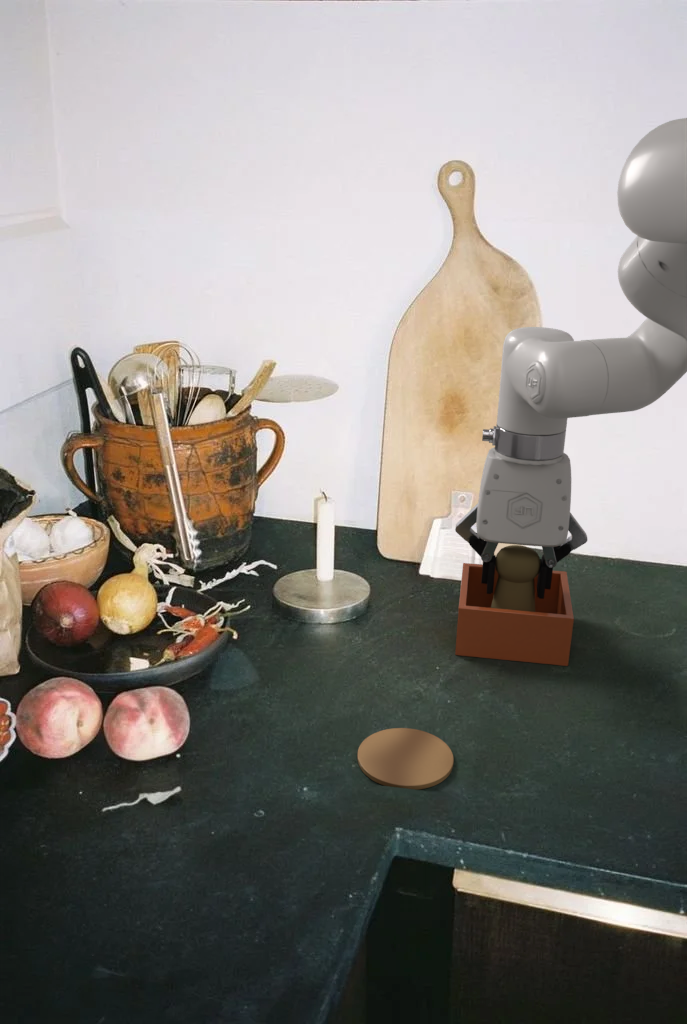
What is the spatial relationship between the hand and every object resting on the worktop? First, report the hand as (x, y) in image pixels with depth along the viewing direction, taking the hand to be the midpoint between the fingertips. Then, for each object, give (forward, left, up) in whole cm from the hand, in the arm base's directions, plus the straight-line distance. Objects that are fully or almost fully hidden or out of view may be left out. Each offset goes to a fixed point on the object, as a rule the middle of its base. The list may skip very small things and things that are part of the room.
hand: (515, 589), depth 109 cm
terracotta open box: (0, 0, -6) cm, 6 cm away
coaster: (+10, +27, -6) cm, 29 cm away
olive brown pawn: (0, 0, -6) cm, 6 cm away
